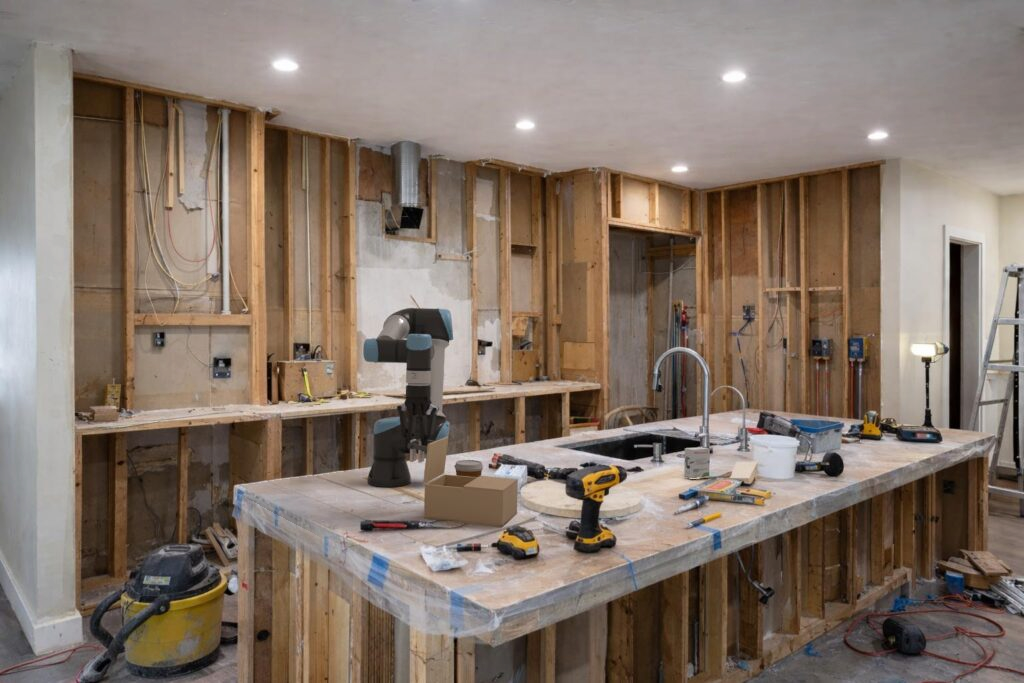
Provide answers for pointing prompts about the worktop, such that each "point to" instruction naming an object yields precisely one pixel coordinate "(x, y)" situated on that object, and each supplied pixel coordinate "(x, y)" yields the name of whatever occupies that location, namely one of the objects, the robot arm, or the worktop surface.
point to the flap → (432, 457)
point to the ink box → (696, 462)
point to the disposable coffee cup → (468, 468)
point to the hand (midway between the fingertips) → (417, 461)
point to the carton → (471, 499)
